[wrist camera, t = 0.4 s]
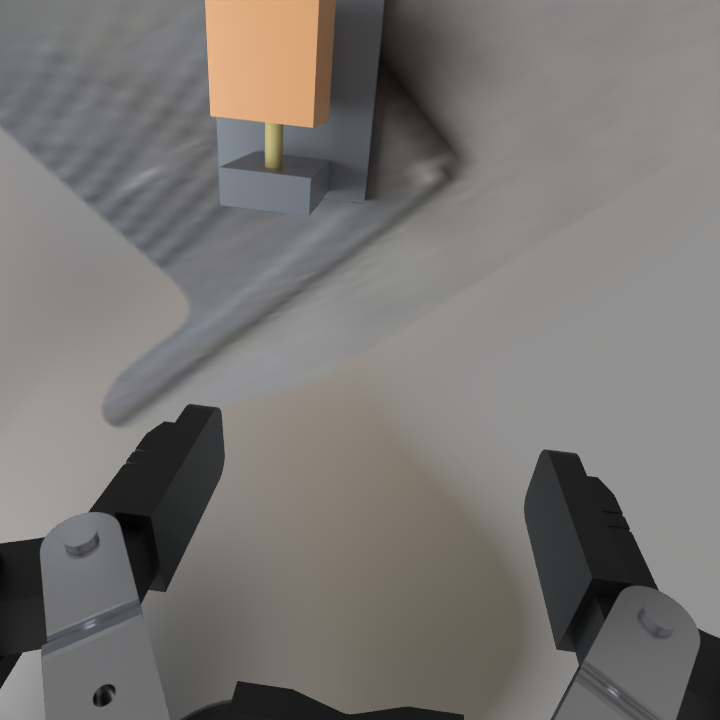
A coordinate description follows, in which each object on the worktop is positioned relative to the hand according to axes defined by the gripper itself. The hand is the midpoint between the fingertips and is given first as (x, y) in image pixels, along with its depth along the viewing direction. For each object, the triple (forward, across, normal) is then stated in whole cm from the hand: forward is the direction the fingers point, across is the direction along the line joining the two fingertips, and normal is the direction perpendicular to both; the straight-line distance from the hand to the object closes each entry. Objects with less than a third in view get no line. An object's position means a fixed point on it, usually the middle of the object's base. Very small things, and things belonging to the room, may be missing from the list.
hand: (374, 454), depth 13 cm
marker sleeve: (+23, +7, -8) cm, 25 cm away
